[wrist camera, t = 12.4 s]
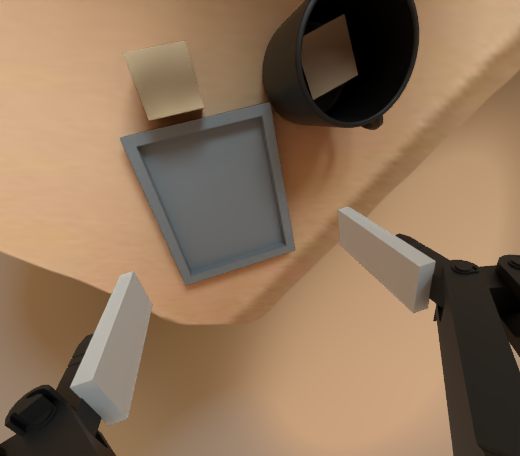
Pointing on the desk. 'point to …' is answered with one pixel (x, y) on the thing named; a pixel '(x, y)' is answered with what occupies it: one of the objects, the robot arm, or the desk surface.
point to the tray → (215, 190)
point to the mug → (365, 54)
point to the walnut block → (327, 57)
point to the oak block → (165, 80)
